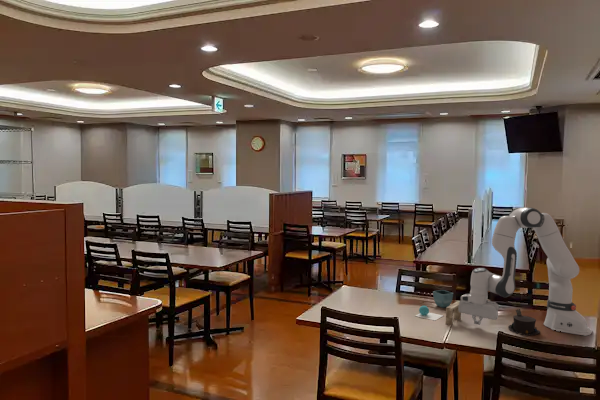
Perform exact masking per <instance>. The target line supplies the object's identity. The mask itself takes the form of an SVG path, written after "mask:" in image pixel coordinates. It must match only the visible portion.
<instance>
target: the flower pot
mask: <svg viewBox="0 0 600 400" xmlns="http://www.w3.org/2000/svg"><path fill="white" fill-rule="evenodd" d="M432 294H433V300H434V303H435V304H436V306H438V307H440V308H442V309H444V308H446V307H448V306H450V305H452V302H453V297H454V292H451V291H448V290H445V289H439V290H434V291H432Z"/></svg>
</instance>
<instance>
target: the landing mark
mask: <svg viewBox="0 0 600 400" xmlns="http://www.w3.org/2000/svg"><path fill="white" fill-rule="evenodd" d="M414 317H418V318H421V319H426V320H430V321H433V322H434V321H435V322H436V321H437V320H439V319H441V318H443V317H444V315H443V314H437V313H434V312H430V311H429V313H428V314H427V315H421V314H420V312H419V313H418V314H416V315H414Z"/></svg>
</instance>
